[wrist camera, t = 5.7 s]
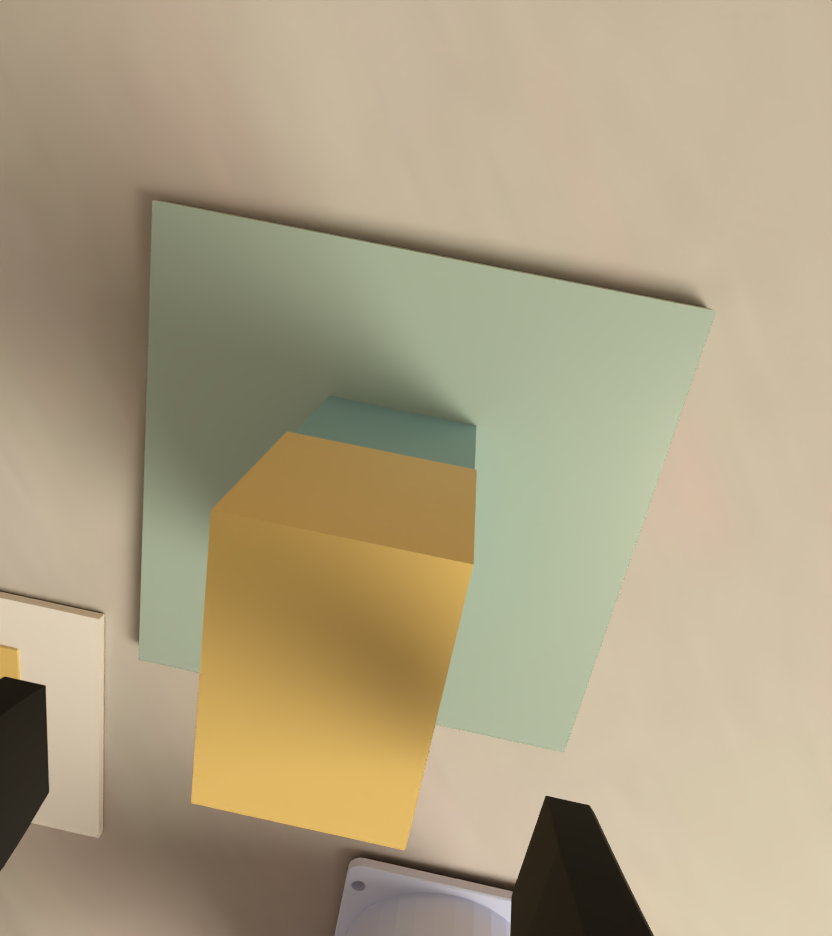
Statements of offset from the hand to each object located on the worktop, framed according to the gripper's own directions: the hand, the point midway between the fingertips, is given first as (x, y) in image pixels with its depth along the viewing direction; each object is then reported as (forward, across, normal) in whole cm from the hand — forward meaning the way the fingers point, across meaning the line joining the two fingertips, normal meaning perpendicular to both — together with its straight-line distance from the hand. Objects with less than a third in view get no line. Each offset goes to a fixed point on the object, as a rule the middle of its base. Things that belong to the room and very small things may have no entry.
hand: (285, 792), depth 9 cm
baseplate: (+10, 0, 0) cm, 10 cm away
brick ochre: (+6, 0, 0) cm, 6 cm away
